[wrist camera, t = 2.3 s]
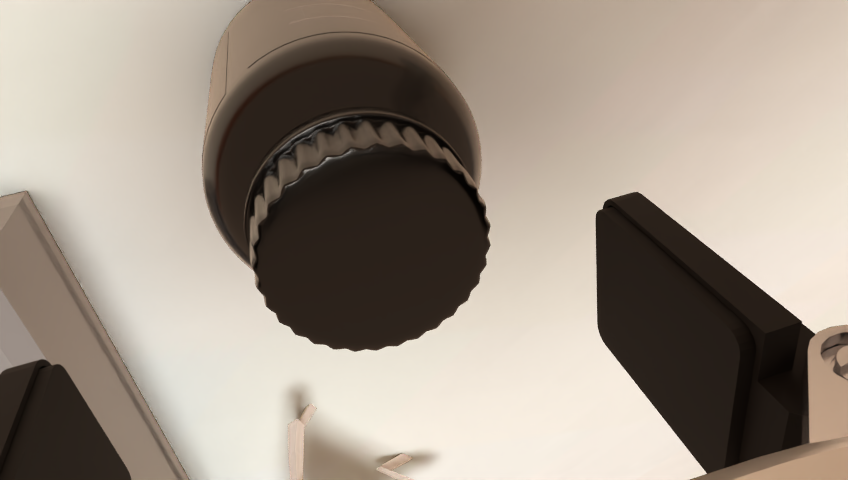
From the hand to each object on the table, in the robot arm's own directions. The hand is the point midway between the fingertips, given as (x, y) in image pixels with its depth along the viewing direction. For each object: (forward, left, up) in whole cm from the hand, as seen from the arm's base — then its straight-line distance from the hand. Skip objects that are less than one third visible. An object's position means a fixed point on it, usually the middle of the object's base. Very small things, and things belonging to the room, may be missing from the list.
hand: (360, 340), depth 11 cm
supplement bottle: (-1, 0, -14) cm, 14 cm away
